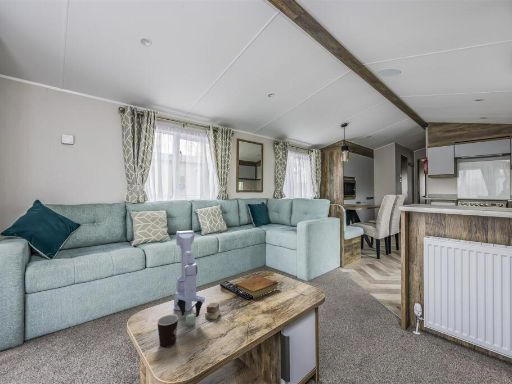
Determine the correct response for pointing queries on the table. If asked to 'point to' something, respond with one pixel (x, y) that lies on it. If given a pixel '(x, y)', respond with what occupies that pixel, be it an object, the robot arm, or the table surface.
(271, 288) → the diary
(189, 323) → the pale green short cylinder
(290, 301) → the table surface
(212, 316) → the oak base block
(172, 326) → the coffee mug
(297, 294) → the table surface
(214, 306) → the walnut top block
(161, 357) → the table surface
